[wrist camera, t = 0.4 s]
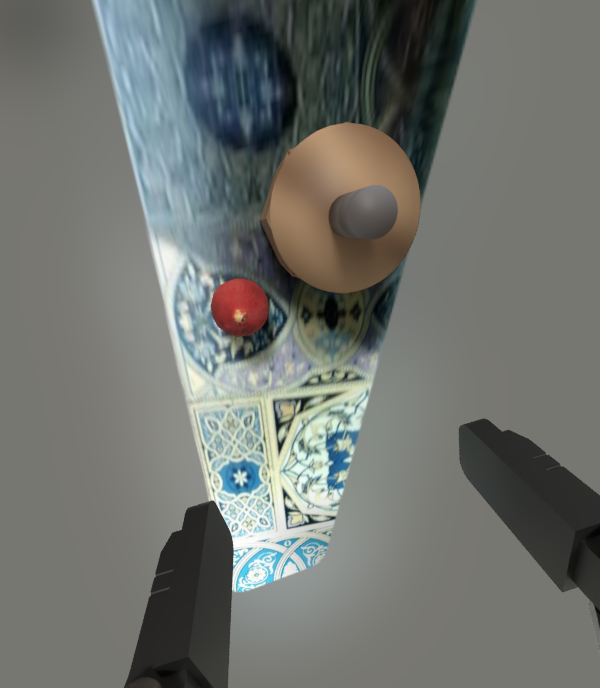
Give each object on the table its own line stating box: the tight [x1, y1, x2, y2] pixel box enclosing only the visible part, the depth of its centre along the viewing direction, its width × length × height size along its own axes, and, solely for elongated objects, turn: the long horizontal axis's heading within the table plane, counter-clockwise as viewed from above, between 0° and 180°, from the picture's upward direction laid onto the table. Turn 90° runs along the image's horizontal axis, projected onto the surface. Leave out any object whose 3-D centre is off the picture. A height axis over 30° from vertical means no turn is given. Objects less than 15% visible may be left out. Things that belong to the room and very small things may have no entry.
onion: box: [211, 278, 269, 337], centre depth 31 cm, size 6×6×8 cm
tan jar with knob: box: [260, 121, 421, 295], centre depth 26 cm, size 12×12×16 cm
